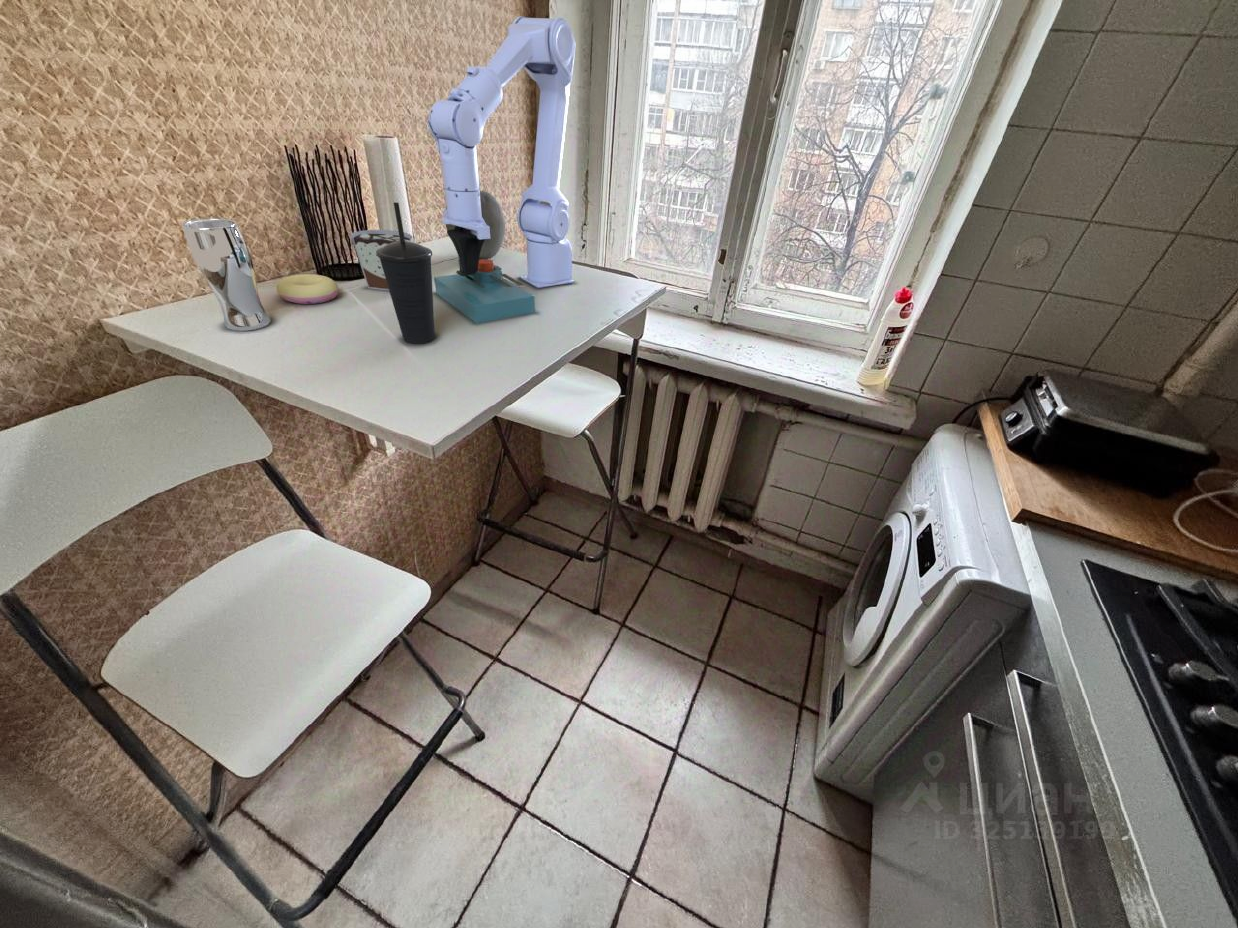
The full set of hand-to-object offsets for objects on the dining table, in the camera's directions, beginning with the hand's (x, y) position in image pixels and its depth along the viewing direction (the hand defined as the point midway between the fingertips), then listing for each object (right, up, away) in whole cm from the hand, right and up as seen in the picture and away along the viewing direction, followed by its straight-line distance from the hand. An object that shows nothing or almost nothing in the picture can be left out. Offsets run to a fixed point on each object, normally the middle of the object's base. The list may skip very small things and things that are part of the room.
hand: (470, 272), depth 90 cm
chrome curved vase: (-33, -13, -11) cm, 37 cm away
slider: (-1, 0, +2) cm, 2 cm away
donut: (-30, -5, 0) cm, 30 cm away
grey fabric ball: (-7, +15, +30) cm, 34 cm away
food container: (-17, 0, +9) cm, 20 cm away
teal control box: (+1, -4, +5) cm, 7 cm away
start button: (+1, +3, +7) cm, 8 cm away
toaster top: (+3, -1, +1) cm, 3 cm away
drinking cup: (-5, -15, -10) cm, 19 cm away
